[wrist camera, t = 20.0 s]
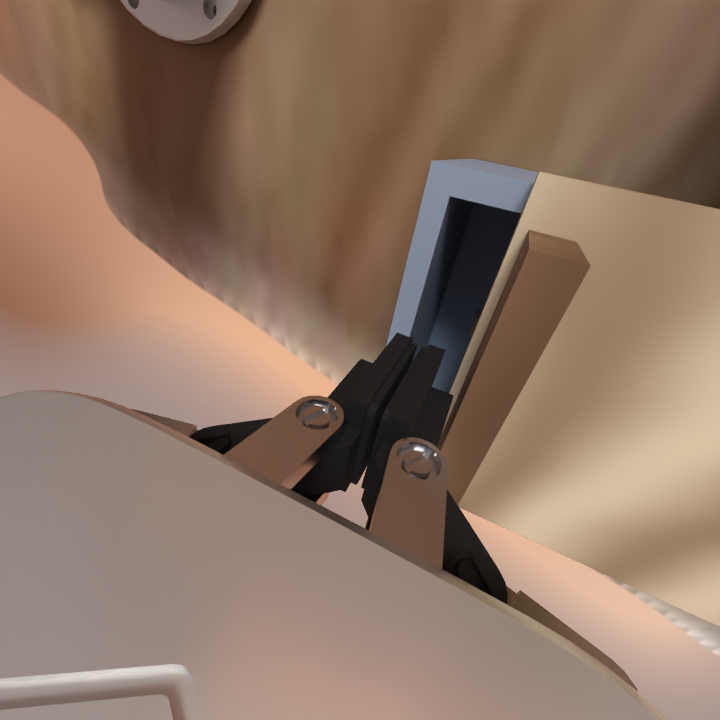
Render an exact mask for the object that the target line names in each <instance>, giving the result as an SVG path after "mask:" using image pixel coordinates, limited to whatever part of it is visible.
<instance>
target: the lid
mask: <svg viewBox="0 0 720 720" xmlns="http://www.w3.org/2000/svg"><path fill="white" fill-rule="evenodd" d="M449 394H452V395H454V397H453V400H452V403H451V406H450V409H449V412H448V415H447V418H446V421H445V425H444V428H443V431H442V434H441V437H440V440H439V443H438V446H437V448H438V449H439V450H440V451H441V452H442V453H443V455H444V457H445V459H446V461H447V465H448V479H447V490H448V491H449V493H450V494H451V496H452V497H453V499H454V500H455V502H456V504H457V505H458V507H460V508H462V509H464V510H466V511H469V512H471V513H473V514H475V515H477V516H480V517H482V518H484V519H486V520H488V521H490V522H493V523H495V524H497V525H499V526H501V527H503V528H506V529H508V530H510V531H512V532H514V533H517V534H519V535H521V536H523V537H525V538H528V539H530V540H532V541H534V542H536V543H538V544H541V545H543V546H545V547H547V548H549V549H552V550H554V551H556V552H558V553H560V554H562V555H565V556H567V557H569V558H571V559H573V560H576V561H578V562H580V563H582V564H584V565H586V566H589V567H591V568H593V569H595V570H597V571H600V572H602V573H604V574H606V575H608V576H610V577H613V578H615V579H617V580H619V581H621V582H624V583H626V584H628V585H630V586H632V587H634V588H637V589H639V590H641V591H643V592H645V593H648V594H650V595H652V596H654V597H656V598H658V599H661V600H663V601H665V602H667V603H669V604H672V605H674V606H676V607H678V608H680V609H682V610H685V611H687V612H689V613H691V614H693V615H696V616H698V617H700V618H702V619H704V620H706V621H709V622H711V623H713V624H715V625H717V626H720V209H716V208H712V207H707V206H702V205H697V204H693V203H688V202H683V201H678V200H674V199H669V198H664V197H659V196H655V195H650V194H645V193H640V192H635V191H631V190H626V189H621V188H616V187H612V186H607V185H602V184H597V183H593V182H588V181H583V180H578V179H574V178H569V177H564V176H559V175H555V174H550V173H545V172H540V171H539V172H538V174H537V177H536V179H535V182H534V184H533V187H532V189H531V191H530V194H529V196H528V199H527V201H526V204H525V206H524V209H523V211H522V214H521V216H520V219H519V221H518V224H517V226H516V229H515V231H514V234H513V236H512V238H511V241H510V243H509V246H508V248H507V251H506V253H505V256H504V258H503V261H502V263H501V266H500V268H499V271H498V273H497V276H496V278H495V281H494V283H493V285H492V288H491V290H490V293H489V295H488V298H487V300H486V303H485V305H484V308H483V310H482V313H481V315H480V318H479V320H478V323H477V325H476V328H475V330H474V332H473V335H472V337H471V340H470V342H469V345H468V347H467V350H466V352H465V355H464V357H463V360H462V362H461V365H460V367H459V370H458V372H457V375H456V377H455V380H454V382H453V384H452V387H451V389H450V392H449Z"/></svg>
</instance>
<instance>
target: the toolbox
mask: <svg viewBox="0 0 720 720" xmlns="http://www.w3.org/2000/svg"><path fill="white" fill-rule="evenodd" d="M537 174H538V172H535V171H530V170H525V169H520V168H516V167H511V166H506V165H501V164H497V163H492V162H487V161H483V160H478V159H458V160H436V161H432V162H431V166H430V170H429V174H428V178H427V182H426V186H425V190H424V195H423V199H422V203H421V207H420V211H419V215H418V219H417V223H416V227H415V231H414V235H413V239H412V243H411V247H410V251H409V255H408V259H407V264H406V268H405V272H404V276H403V280H402V284H401V288H400V292H399V296H398V300H397V304H396V308H395V312H394V316H393V320H392V324H391V328H390V332H389V337H388V341H387V345H388V344H389V342H390V341H391V340H392V338H393V337H394V336H395V335H396V333H400V334H403V335H406V336H408V337H411V338H413V341H412V343H415V344H417V348H416V351H415V355H414V358H413V360H414V359H415V357H416V355H417V353H418V352H419V350H420V348H421V347H422V346H423V347H426V348H428V346H429V345H433V346H436V347H439V348H441V349H444V350H445V353H444V356H443V359H442V361H441V364H440V367H439V369H438V372H437V375H436V377H435V380H434V383H433V385H432V387H434V388H437V389H439V390H442V391H444V392H447V393H449V392H450V389H451V387H452V384H453V382H454V380H455V377H456V375H457V372H458V370H459V367H460V365H461V362H462V360H463V357H464V355H465V352H466V350H467V347H468V345H469V342H470V340H471V337H472V335H473V332H474V330H475V328H476V325H477V323H478V320H479V318H480V315H481V313H482V310H483V308H484V305H485V303H486V300H487V298H488V295H489V293H490V290H491V288H492V285H493V283H494V281H495V278H496V276H497V273H498V271H499V268H500V266H501V263H502V261H503V258H504V256H505V253H506V251H507V248H508V246H509V243H510V241H511V238H512V236H513V234H514V231H515V229H516V226H517V224H518V221H519V219H520V216H521V214H522V211H523V209H524V206H525V204H526V201H527V199H528V196H529V194H530V191H531V189H532V187H533V184H534V182H535V179H536V177H537ZM387 345H386V346H387ZM412 362H413V361H412Z"/></svg>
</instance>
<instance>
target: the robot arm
mask: <svg viewBox="0 0 720 720" xmlns="http://www.w3.org/2000/svg"><path fill="white" fill-rule="evenodd" d="M120 1H121V2H122V3H123V5H124V6H125V7H126V9H127V10H128V11H129V12H130V13H131V14H132V15H133V16H134V17H135V18H136V19H137V20H138V21H139V22H141V23H142V24H143V25H144V26H145V27H147V28H149V29H150V30H152V31H153V32H155V33H157V34H158V35H160V36H163V37H166V38H169V39H171V40H174V41H177V42H182V43H188V44H200V43H206V42H210V41H212V40H214V39H216V38H218V37H220V36H222V35H224V34H225V33H226V32H227V31H228V30H229V29H230V28H231V27H232V26H233V25H235V24H236V23H237V22H238V21H239V19H240V18H241V16H242V15H243V13H244V12H245V10H246V9H247V7H248V6H249V4H250V3H251V1H252V0H120ZM412 341H413V338H411V337H408V336H406V335H403V334H400V333H396V335H395V336H394V337H393V338H392V340H391V341H390V342H389V344H388V345H387V346H386V347H385V349H384V350H383V351H382V353H381V354H380V355H379V356H378V358H377V359H376V360H375V362H374V363H371V362H368V361H365V360H363V359H361V360H360V361H358V363H357V364H356V365H355V366H354V367H353V368H352V370H351V371H350V372H349V373H348V374H347V376H346V377H345V378H344V379H343V380H342V381H341V383H340V384H339V385H338V386H337V387H336V388H335V390H334V391H333V392H332V393H331V395H329V397H328V398H327V397H322V396H307V397H303V398H301V399H299V400H297V401H296V402H294V403H293V404H292V405H290V406H289V407H288V408H286V409H285V410H283V411H282V412H281V413H279V414H278V415H277V416H275V417H274V418H269V419H263V420H254V421H247V422H240V423H232V424H225V425H218V426H212V427H207V428H203V429H201V430H197V427H196V425H193V424H189V423H185V422H181V421H177V420H173V419H169V418H165V417H161V416H158V415H154V414H150V413H146V412H142V411H138V410H133V409H128V408H126V407H124V406H121V405H118V404H115V403H112V402H109V401H107V400H104V399H100V398H96V397H91V396H87V395H83V394H79V393H71V392H62V391H49V390H45V391H44V390H40V391H25V392H19V393H14V394H10V395H7V396H3V397H0V720H668V719H667V718H666V717H664V716H663V715H662V714H661V713H660V712H659V711H658V710H657V709H656V708H655V707H654V706H653V705H652V704H651V703H650V702H648V701H647V700H646V699H645V698H644V697H643V696H642V695H641V694H640V693H639V692H638V691H637V688H636V687H635V686H634V684H633V683H632V681H631V680H630V679H629V677H628V676H627V674H626V673H625V672H624V671H623V670H622V669H621V668H620V667H619V666H618V665H617V664H616V663H615V662H614V661H613V660H612V659H611V658H609V657H608V656H607V655H605V654H604V653H603V652H601V651H600V650H599V649H597V648H596V647H595V646H593V645H592V644H591V643H589V642H588V641H587V640H585V639H584V638H583V637H581V636H580V635H579V634H577V633H576V632H575V631H574V630H572V629H571V628H570V627H568V626H567V625H565V624H564V623H563V622H562V621H560V620H559V619H558V618H556V617H555V616H554V615H552V614H551V613H550V612H548V611H547V610H546V609H544V608H543V607H542V606H540V605H539V604H538V603H536V602H535V601H534V600H532V599H531V598H529V597H528V596H527V595H526V594H525V593H523V592H522V591H521V590H520V591H519V592H518V593H517V594H516V593H515V592H514V591H512V590H511V589H510V588H508V587H507V586H506V584H505V581H504V579H503V577H502V575H501V573H500V571H499V569H498V568H497V566H496V565H495V563H494V561H493V560H492V558H491V557H490V555H489V554H488V552H487V550H486V549H485V547H484V546H483V544H482V543H481V541H480V540H479V538H478V536H477V535H476V533H475V532H474V530H473V529H472V527H471V525H470V524H469V522H468V521H467V519H466V518H465V516H464V515H463V513H462V511H461V510H460V508H459V507H458V505H457V504H456V502H455V500H454V499H453V497H452V496H451V494H450V493H449V491H448V490H447V479H448V465H447V461H446V459H445V457H444V455H443V453H442V452H441V451H440V450H439V449H438V448H437V446H438V443H439V440H440V437H441V434H442V431H443V428H444V425H445V421H446V418H447V415H448V412H449V409H450V406H451V403H452V400H453V397H454V395H452V394H449V393H447V392H444V391H442V390H439V389H437V388H434V387H432V385H433V383H434V380H435V377H436V375H437V372H438V369H439V367H440V364H441V361H442V359H443V356H444V353H445V350H444V349H441V348H439V347H436V346H433V345H429V346H428V348H426V347H423V346H422V347H421V348H420V350H419V352H418V353H417V355H416V357H415V359H414V360H413V358H414V355H415V351H416V348H417V344H415V343H412ZM412 361H413V362H412ZM366 467H367V469H366ZM365 469H366V472H365V476H364V479H363V483H362V487H361V488H363V489H364V492H363V496H362V499H361V500H362V503H363V505H364V508H365V510H366V513H367V515H368V520H367V523H366V526H365V528H363V527H361V526H359V525H357V524H355V523H353V522H351V521H349V520H347V519H345V518H343V517H342V516H340V515H338V514H336V513H334V512H332V511H330V510H328V509H326V508H324V507H323V506H321V505H322V504H323V503H324V502H325V500H326V498H327V497H328V493H329V492H333V491H337V490H342V491H344V492H346V490H347V488H348V486H349V485H350V483H354V484H355V485H356V484H357V483H358V482H359V480H360V478H361V476H362V474H363V472H364V471H365Z"/></svg>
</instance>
